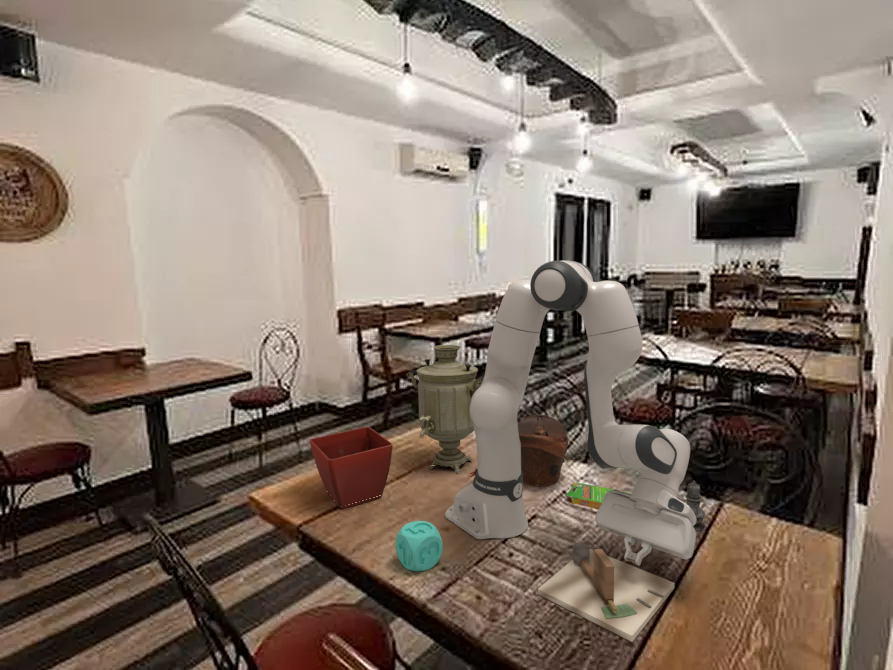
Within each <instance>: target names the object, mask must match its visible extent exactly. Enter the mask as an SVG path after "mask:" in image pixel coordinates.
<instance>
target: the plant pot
mask: <svg viewBox="0 0 893 670" xmlns="http://www.w3.org/2000/svg"><path fill="white" fill-rule="evenodd" d="M309 444H310V445H309V446H310V450H311V453H312V457H313V460H314V463H315V466H316V469H317V472H318V474H319V477H320V478H321V482H322V484H323V486H324V488H325V491H326V490H327V491H328V492H327V491H326V492H327V494H328V496H329V497H330V498H331V499H332V500H333V502H334V503H335V504H336V505H337V507H338V508H339V509H343V510H344V509H348V508H350V507H354V506H356V505H357V506H358V505H360V504H364V503H369V502H371V501H374V500H378V499H380V498H382V496H383V494H384V491H385V488H386V485H387V481H388V478H389V477H388V476H389V473H390V468H391V462H392V456H393V455H392V454H393V446H394V445H393V443H392V442H391V441H389V440H388V439H387V438H385V437H384V436H383V435H381V434H379V433H378V432H377V431H376V430H374V429H373V428H372V427H370V426H365V427H360V428H356V429H350V430H346V431H341V432H336V433H332V434H327V435H324V436H323V435H322V436H318V437H313V438H310V439H309ZM329 494H330V495H331V496H330V495H329ZM379 495H381V496H379ZM376 496H378V497H376ZM373 497H375V498H373ZM369 498H371V499H369ZM366 499H367V500H366ZM334 500H335V501H334ZM362 500H364V501H362ZM359 501H360V502H359ZM355 502H357V503H355ZM352 503H353V504H352ZM348 504H350V505H348ZM338 505H339V506H338ZM345 505H346V506H345ZM341 506H342V507H341Z"/></svg>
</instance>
